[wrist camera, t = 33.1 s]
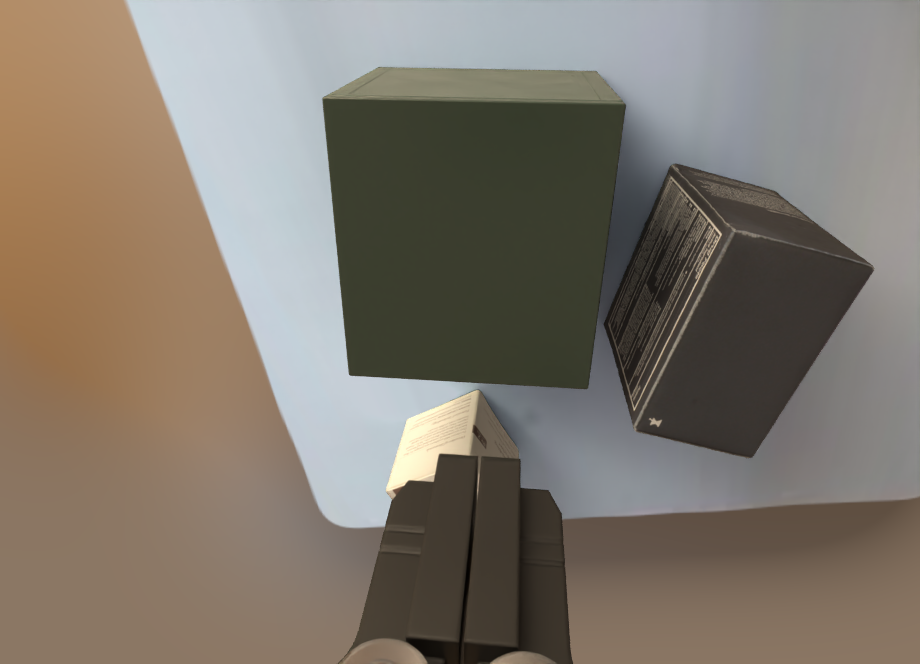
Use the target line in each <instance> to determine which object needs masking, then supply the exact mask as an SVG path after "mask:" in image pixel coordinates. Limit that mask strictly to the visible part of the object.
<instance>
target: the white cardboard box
mask: <svg viewBox="0 0 920 664" xmlns="http://www.w3.org/2000/svg"><path fill="white" fill-rule="evenodd" d="M440 453H443V454H457V455H471V456H478V487H479V476H480V465H481V457H482V456H488V457H502V458H516V459H519V451H518V448H517V447H516V445H515V444H514V443H513V441H512V440H511V439H510V437H509V436H508V434H507V433H506V431H505V430H504V428H503V427H502V425H501V424H500V422H499V421H498V419H497V418H496V416H495V415H494V413H493V411H492V410H491V408H490V406H489V405H488V403H487V401H486V400H485V398H484V396H483V394H482V393H481V391H479V390H476V391H473V392H471V393H468V394H466V395H464V396H461V397H459V398H457V399H454V400H452V401H450V402H447V403H445V404H443V405H440V406H438V407H436V408H433V409H431V410H429V411H426V412H424V413H421V414H419V415H417V416H415V417H412V418H410V419H408V420H407V422H406V425H405V429H404V432H403V435H402V439H401V442H400V445H399V449H398V452H397V455H396V459H395V462H394V465H393V469H392V472H391V475H390V479H389V482H388V485H387V488H386V492H387V494H388V495H389V496H390V497H391V499H392V500H393V498H394V497H395V496H396V495H397V494H398V492H399V491H400V490H401V489H402V487H403V486H404V485H405V484H406V482H407V481H408V480H416V481H429V482H434V477H435V472H436V466H437V461H438V456H439V454H440ZM477 497H478V489H477Z"/></svg>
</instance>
